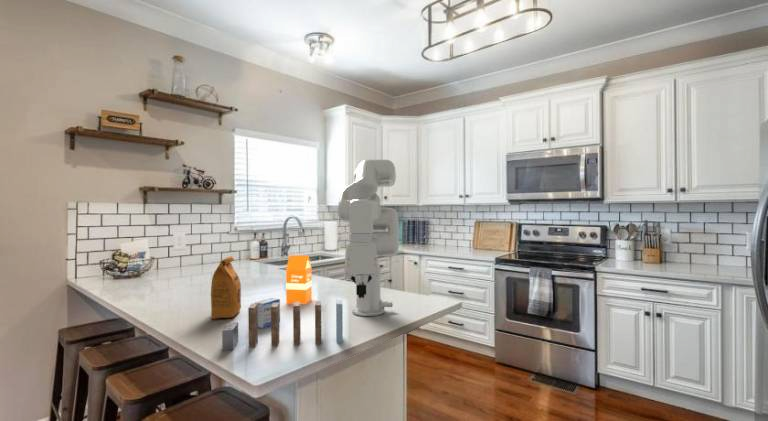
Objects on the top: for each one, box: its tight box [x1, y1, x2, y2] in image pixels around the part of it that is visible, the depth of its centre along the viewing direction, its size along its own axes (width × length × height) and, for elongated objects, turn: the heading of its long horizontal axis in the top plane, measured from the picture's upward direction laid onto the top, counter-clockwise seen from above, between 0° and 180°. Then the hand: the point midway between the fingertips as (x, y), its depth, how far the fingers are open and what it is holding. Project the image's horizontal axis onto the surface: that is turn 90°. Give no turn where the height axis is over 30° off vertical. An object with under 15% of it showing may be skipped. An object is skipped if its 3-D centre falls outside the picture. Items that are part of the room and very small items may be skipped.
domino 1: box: [247, 302, 259, 349], centre depth 117 cm, size 2×5×12 cm, turn 9°
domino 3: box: [292, 302, 302, 346], centre depth 119 cm, size 2×5×12 cm, turn 9°
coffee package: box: [210, 255, 242, 320], centre depth 148 cm, size 10×12×22 cm
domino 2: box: [270, 302, 280, 348], centre depth 118 cm, size 2×5×12 cm, turn 9°
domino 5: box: [335, 299, 344, 344], centre depth 121 cm, size 2×5×12 cm, turn 9°
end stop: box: [221, 321, 239, 352], centre depth 116 cm, size 3×7×6 cm, turn 9°
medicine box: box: [254, 297, 281, 330], centre depth 136 cm, size 8×4×9 cm, turn 148°
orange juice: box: [285, 254, 313, 305], centre depth 168 cm, size 8×9×20 cm
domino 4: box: [314, 300, 322, 345], centre depth 120 cm, size 2×5×12 cm, turn 9°
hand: (361, 296), depth 122 cm, fingers closed
